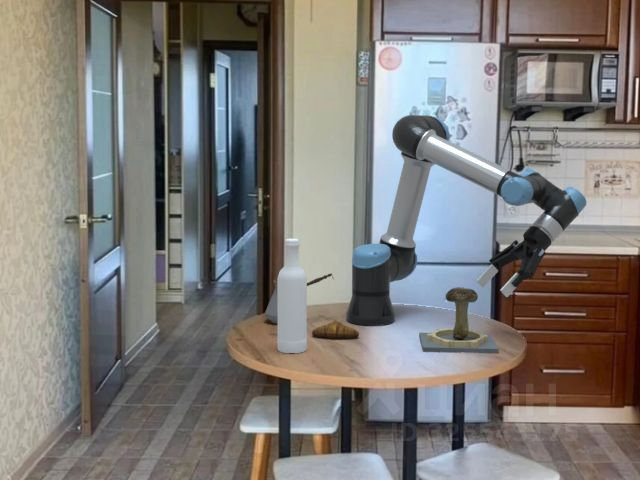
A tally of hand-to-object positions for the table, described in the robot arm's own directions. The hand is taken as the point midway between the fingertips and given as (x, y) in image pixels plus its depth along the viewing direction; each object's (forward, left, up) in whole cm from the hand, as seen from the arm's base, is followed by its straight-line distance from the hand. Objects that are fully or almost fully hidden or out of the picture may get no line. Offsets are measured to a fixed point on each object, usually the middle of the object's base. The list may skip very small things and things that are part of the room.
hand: (491, 288), depth 217 cm
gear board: (-9, -3, -15) cm, 18 cm away
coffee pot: (-55, +21, -15) cm, 61 cm away
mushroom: (-8, -4, -14) cm, 17 cm away
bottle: (-54, -12, -15) cm, 58 cm away
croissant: (-43, +2, -16) cm, 46 cm away
